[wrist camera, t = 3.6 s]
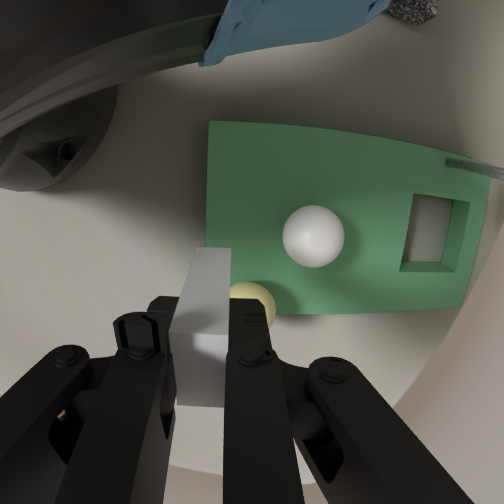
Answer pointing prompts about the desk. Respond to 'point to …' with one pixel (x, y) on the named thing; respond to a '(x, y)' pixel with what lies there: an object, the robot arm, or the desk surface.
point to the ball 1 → (255, 297)
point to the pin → (476, 168)
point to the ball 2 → (313, 236)
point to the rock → (412, 10)
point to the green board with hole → (345, 208)
